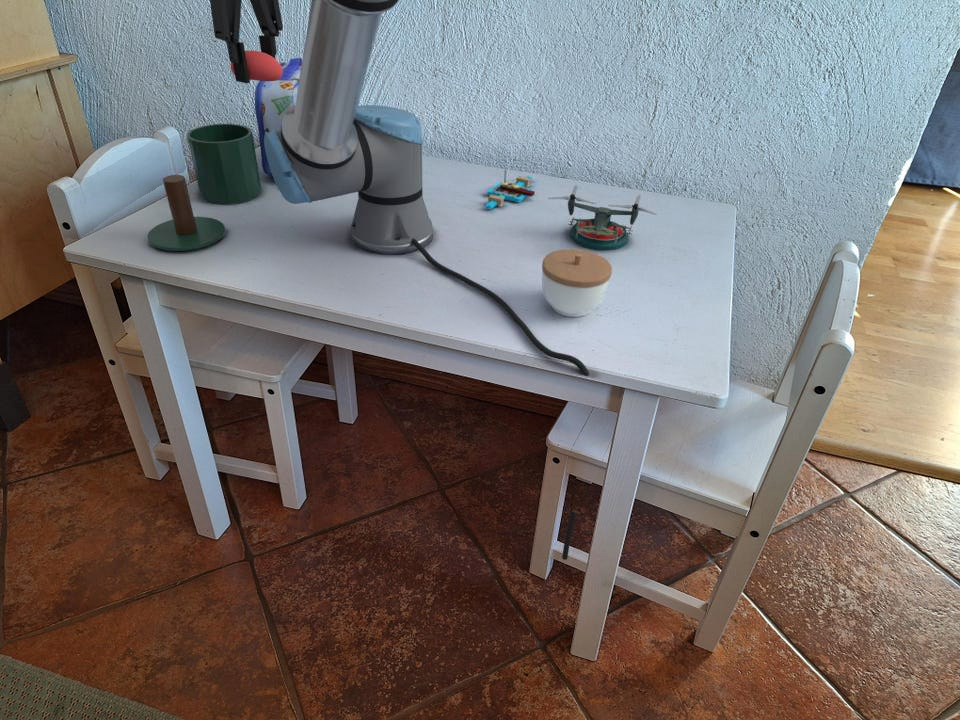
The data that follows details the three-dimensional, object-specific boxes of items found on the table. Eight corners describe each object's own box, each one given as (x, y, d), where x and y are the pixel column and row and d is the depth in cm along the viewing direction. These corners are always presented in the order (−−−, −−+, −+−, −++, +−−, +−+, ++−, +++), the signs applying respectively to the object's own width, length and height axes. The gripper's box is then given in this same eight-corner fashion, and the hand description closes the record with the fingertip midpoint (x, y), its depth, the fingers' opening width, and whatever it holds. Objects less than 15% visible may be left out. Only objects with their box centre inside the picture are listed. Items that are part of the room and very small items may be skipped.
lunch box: (288, 144, 163) (275, 48, 150) (329, 145, 164) (320, 50, 151) (259, 185, 141) (241, 77, 128) (308, 187, 141) (295, 79, 128)
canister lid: (241, 233, 122) (230, 175, 116) (182, 260, 113) (166, 199, 106) (193, 216, 127) (180, 159, 121) (133, 241, 118) (115, 181, 111)
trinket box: (598, 291, 110) (606, 240, 104) (610, 326, 101) (620, 272, 96) (534, 289, 109) (540, 238, 104) (541, 325, 101) (547, 271, 95)
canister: (273, 190, 139) (264, 131, 132) (229, 209, 131) (216, 147, 123) (233, 178, 144) (222, 120, 137) (187, 195, 136) (173, 134, 128)
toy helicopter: (653, 233, 129) (661, 192, 124) (646, 268, 117) (655, 225, 112) (554, 217, 133) (558, 178, 128) (537, 250, 121) (541, 207, 116)
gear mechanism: (551, 186, 147) (514, 177, 151) (553, 162, 144) (515, 154, 148) (511, 216, 133) (471, 206, 136) (513, 191, 130) (472, 181, 133)
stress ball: (263, 95, 116) (276, 60, 114) (219, 69, 116) (232, 34, 114) (276, 98, 121) (290, 65, 119) (234, 73, 121) (247, 40, 119)
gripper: (261, -77, 113) (280, 66, 127) (167, -75, 100) (200, 85, 114) (293, -74, 110) (309, 72, 124) (201, -71, 97) (230, 92, 111)
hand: (257, 78), depth 119 cm, fingers closed on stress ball, 6 cm apart
